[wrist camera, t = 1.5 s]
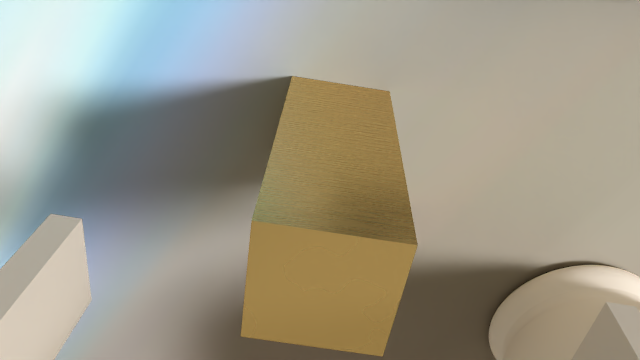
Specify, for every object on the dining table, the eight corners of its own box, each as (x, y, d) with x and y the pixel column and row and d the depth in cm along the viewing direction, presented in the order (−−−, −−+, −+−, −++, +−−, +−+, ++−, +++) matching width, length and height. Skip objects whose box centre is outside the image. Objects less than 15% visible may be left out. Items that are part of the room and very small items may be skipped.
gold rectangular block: (281, 161, 23) (240, 336, 14) (292, 75, 21) (251, 220, 12) (370, 175, 23) (382, 356, 14) (389, 91, 21) (417, 245, 12)
